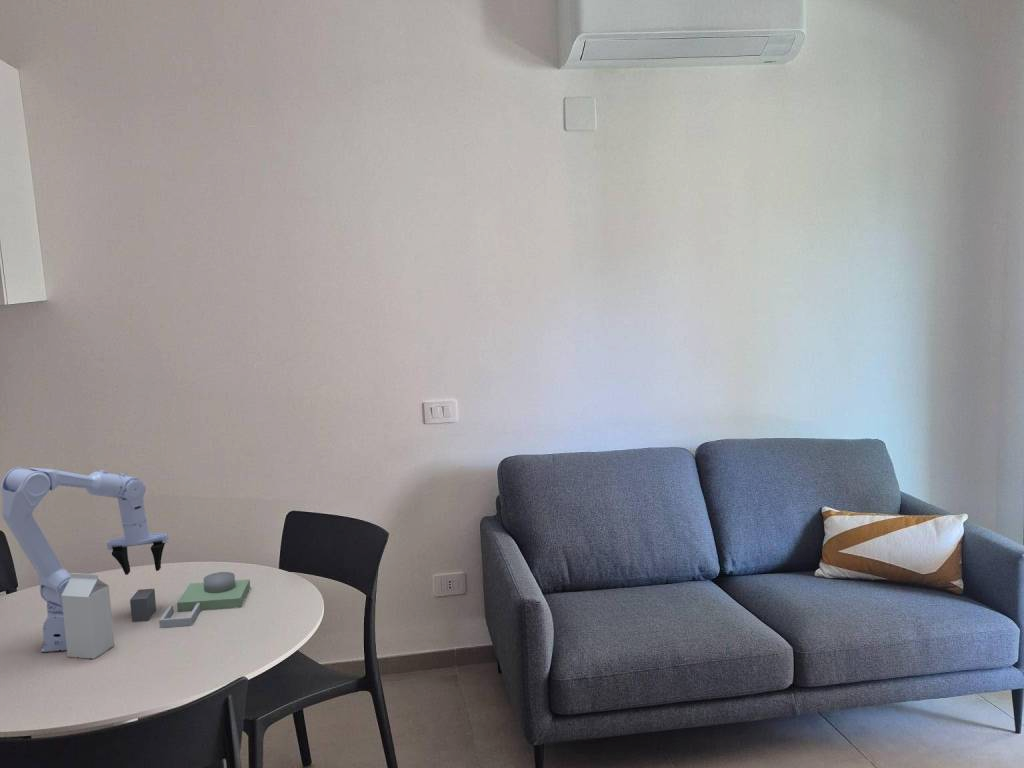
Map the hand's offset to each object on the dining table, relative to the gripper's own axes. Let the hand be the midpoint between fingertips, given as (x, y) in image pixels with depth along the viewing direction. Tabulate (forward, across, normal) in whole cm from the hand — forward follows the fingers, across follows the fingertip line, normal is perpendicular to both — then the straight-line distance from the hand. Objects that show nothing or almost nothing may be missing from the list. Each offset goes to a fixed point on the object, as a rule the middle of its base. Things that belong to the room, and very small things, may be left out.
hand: (143, 571), depth 220 cm
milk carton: (+10, +7, +23) cm, 26 cm away
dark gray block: (+11, +1, +3) cm, 11 cm away
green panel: (+12, -14, 0) cm, 19 cm away
